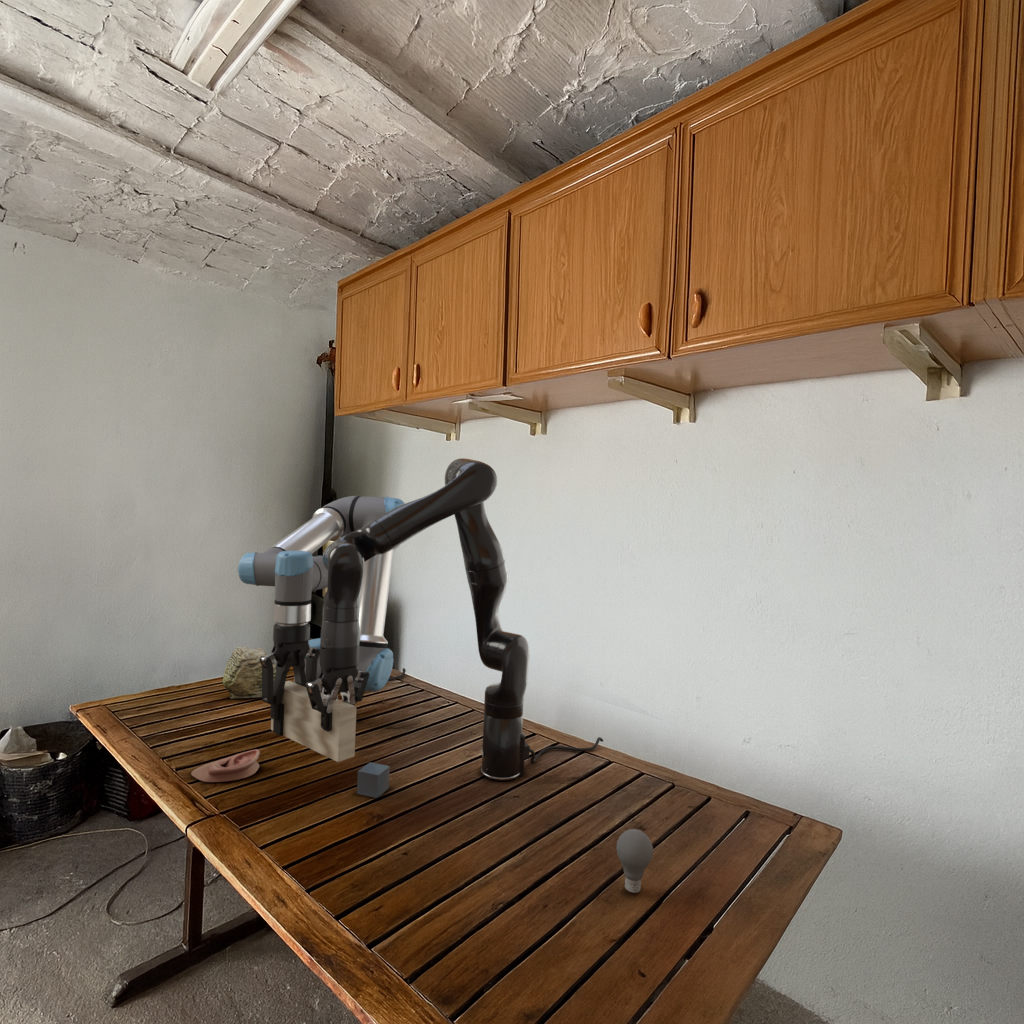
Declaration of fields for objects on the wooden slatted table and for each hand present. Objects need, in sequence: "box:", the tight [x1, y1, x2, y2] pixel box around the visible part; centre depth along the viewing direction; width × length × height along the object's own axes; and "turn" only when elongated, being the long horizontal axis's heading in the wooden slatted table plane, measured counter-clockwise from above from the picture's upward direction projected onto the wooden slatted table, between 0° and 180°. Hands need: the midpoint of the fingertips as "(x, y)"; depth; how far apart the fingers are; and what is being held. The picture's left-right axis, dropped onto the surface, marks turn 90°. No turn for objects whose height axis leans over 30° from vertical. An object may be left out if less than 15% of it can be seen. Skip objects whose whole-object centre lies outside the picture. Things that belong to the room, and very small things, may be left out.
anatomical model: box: [190, 748, 261, 783], centre depth 143 cm, size 13×4×12 cm
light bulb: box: [615, 828, 654, 894], centre depth 106 cm, size 6×6×10 cm
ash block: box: [270, 680, 358, 763], centre depth 131 cm, size 24×4×10 cm, turn 51°
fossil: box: [222, 646, 276, 699], centre depth 198 cm, size 9×18×15 cm, turn 132°
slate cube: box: [356, 761, 391, 799], centre depth 137 cm, size 5×5×5 cm
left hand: (288, 730), depth 137 cm, fingers closed on ash block, 4 cm apart
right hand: (336, 726), depth 126 cm, fingers closed on ash block, 4 cm apart
